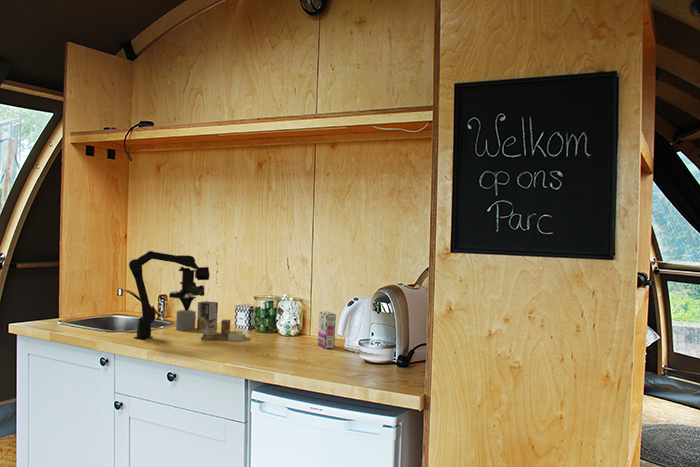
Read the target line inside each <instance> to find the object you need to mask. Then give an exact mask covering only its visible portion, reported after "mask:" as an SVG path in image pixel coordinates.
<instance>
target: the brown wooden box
mask: <svg viewBox="0 0 700 467" xmlns="http://www.w3.org/2000/svg"><path fill="white" fill-rule="evenodd" d="M220 323H221V325H220V327H221V328H220V330H221V331H220V334H221V337H228V334H230V331H231V319H221V322H220Z"/></svg>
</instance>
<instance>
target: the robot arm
mask: <svg viewBox="0 0 700 467" xmlns="http://www.w3.org/2000/svg"><path fill="white" fill-rule="evenodd" d="M151 260H156V261H157V260H158V261H164V262H169V263H174V264H178V265H182V266H181V267H180V268H179V269H178V272H182V273H181V274H182V275H181V281H180V282H179V283H180V285H181V289H179V291H177V290H175V291H170V293H169V298H171V299H172V298H173V299H179V301H180V302H181V304H182V306H183V310H185V311H188V310H190V307H191V304H192V302H193V300H194V299H196V298H197V296H200V297H203V296H205V286H204V284H203V285H196V284H197V283H196V281H195V279H196V280H197V281H209V280H210V276H211V275H210V274H211V273H210V269H209V266H203V267H202V266H198V265H197V263H196V258H194V256H192V255H188V254H187V255H186V254H183V255H181V254H180V255H178V254H177V255H175V254H169V253H163V252H157V251H153V250H149V251H147V252H145V253H144V254H143V255H140V256H139V257H137V258H132V259H131V260H130V261H129V262H128V267H129V270H130V272H131V274H132V276H133V277H134V280H135V284H136V288H137V293H138V297H139V300H140V303H141V317H140V318H138V320H137V325H136V336H134V337H133V339H138V340H147V339H153V338H154V336H152V326H151V324H152V323H153V322H154V321H155V320H156V316H157V313H156V310H155V306H154V305H151V304H150V300H149V296H148V293H147V289H146V285H145V281H144V277H143V265H145V264H147V263H148V262H150V261H151Z"/></svg>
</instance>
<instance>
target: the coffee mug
mask: <svg viewBox="0 0 700 467" xmlns="http://www.w3.org/2000/svg"><path fill="white" fill-rule="evenodd" d="M175 317H176V318H175V331H179V332H188V331H189V330H191V331H195V330H194V329H196V319H197V314H196V310H192V309H189V310H188V311H185V309H181V310H180V309H179V310H176V316H175ZM189 332H190V331H189Z"/></svg>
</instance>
